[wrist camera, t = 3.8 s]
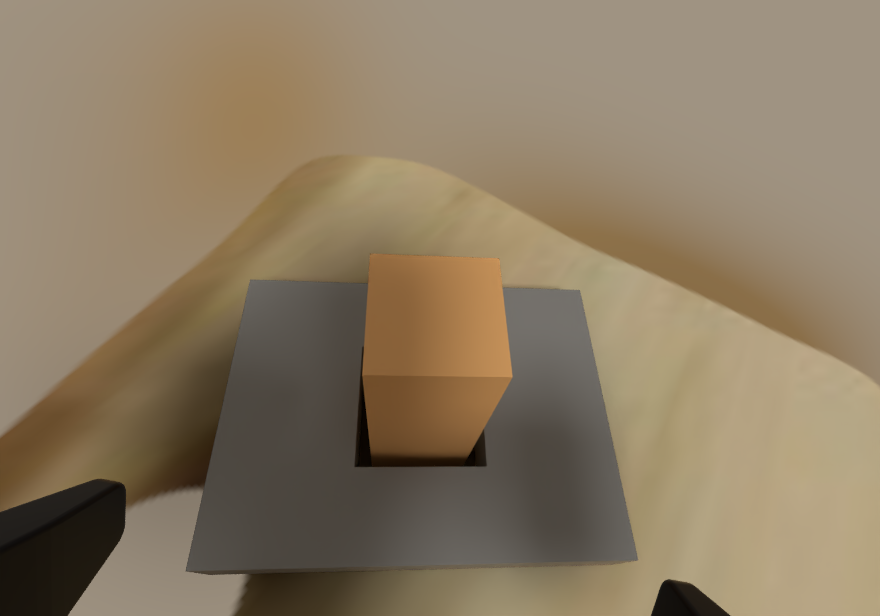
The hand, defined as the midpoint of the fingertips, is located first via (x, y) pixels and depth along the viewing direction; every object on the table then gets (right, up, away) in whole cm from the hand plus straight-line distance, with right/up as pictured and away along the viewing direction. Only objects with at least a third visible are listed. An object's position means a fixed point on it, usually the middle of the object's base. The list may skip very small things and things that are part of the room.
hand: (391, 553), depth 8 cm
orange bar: (0, -1, +14) cm, 14 cm away
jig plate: (0, -1, +14) cm, 14 cm away
